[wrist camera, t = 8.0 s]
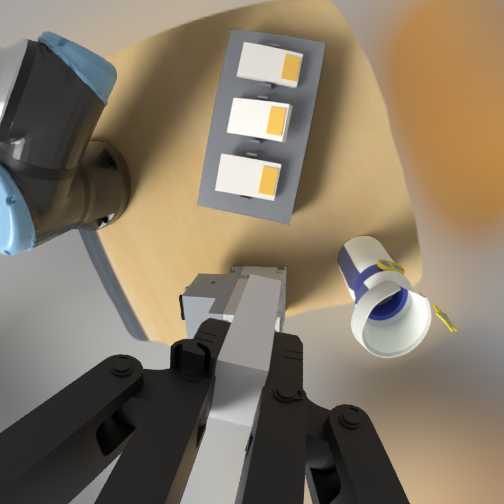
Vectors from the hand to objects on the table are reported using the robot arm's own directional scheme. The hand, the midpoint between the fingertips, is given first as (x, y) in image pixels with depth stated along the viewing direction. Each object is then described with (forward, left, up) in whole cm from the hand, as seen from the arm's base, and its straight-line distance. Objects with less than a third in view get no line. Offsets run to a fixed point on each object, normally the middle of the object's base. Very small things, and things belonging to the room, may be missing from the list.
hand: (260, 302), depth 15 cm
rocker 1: (-5, +17, -23) cm, 29 cm away
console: (-5, +10, -30) cm, 32 cm away
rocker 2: (-5, +10, -23) cm, 25 cm away
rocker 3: (-5, +3, -23) cm, 23 cm away
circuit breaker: (-4, -15, -31) cm, 34 cm away
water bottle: (+13, -6, -31) cm, 34 cm away
